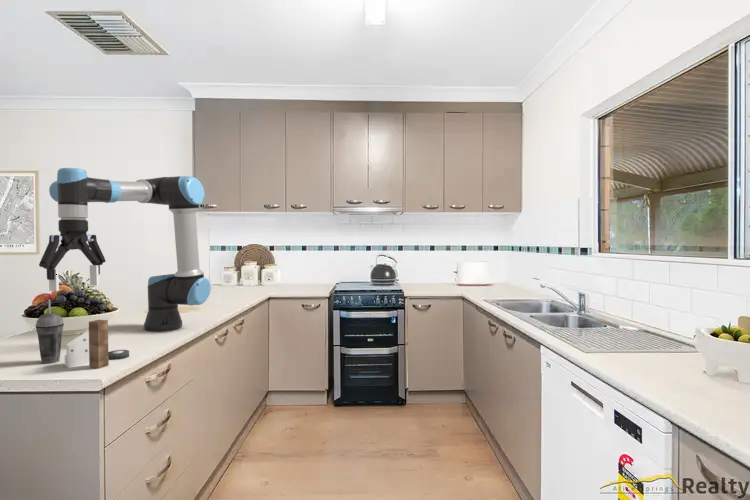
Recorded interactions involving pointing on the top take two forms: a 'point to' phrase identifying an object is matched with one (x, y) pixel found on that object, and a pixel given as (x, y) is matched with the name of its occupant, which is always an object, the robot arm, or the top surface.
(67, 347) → the white angled block
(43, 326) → the beverage cup
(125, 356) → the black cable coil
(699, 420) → the top surface
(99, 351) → the walnut post
